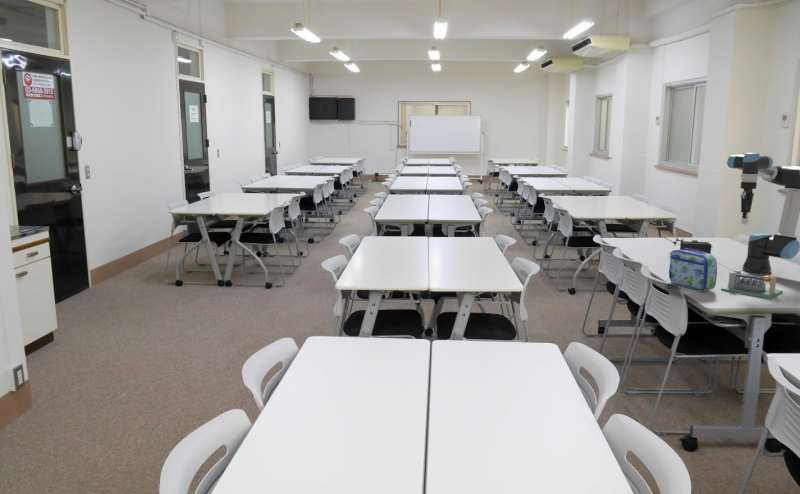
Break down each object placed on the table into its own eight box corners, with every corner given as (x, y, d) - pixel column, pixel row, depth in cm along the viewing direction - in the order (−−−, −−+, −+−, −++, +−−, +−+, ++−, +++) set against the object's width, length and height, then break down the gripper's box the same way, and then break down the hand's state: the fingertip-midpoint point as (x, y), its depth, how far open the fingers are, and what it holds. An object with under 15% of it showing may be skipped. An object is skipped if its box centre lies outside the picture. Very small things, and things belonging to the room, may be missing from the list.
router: (711, 275, 358) (714, 242, 354) (678, 274, 361) (681, 241, 358) (707, 272, 366) (710, 240, 362) (675, 271, 369) (678, 239, 365)
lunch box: (665, 282, 343) (667, 246, 339) (679, 280, 347) (682, 245, 343) (701, 293, 319) (705, 255, 315) (717, 291, 323) (720, 253, 319)
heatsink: (742, 285, 330) (744, 276, 329) (765, 289, 322) (766, 279, 321) (736, 289, 324) (737, 279, 323) (758, 293, 316) (759, 283, 315)
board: (734, 284, 338) (736, 266, 336) (782, 292, 320) (784, 274, 318) (721, 290, 326) (722, 272, 324) (770, 299, 308) (772, 280, 306)
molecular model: (668, 254, 416) (670, 233, 411) (687, 256, 411) (689, 234, 406) (667, 266, 394) (669, 244, 389) (688, 268, 389) (690, 245, 384)
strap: (738, 275, 329) (739, 271, 328) (771, 279, 317) (771, 275, 316) (735, 276, 326) (736, 272, 325) (768, 280, 314) (768, 276, 314)
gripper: (745, 180, 333) (741, 222, 338) (737, 181, 325) (732, 224, 330) (760, 181, 328) (756, 223, 333) (752, 182, 319) (747, 226, 324)
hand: (744, 224), depth 331 cm, fingers closed
